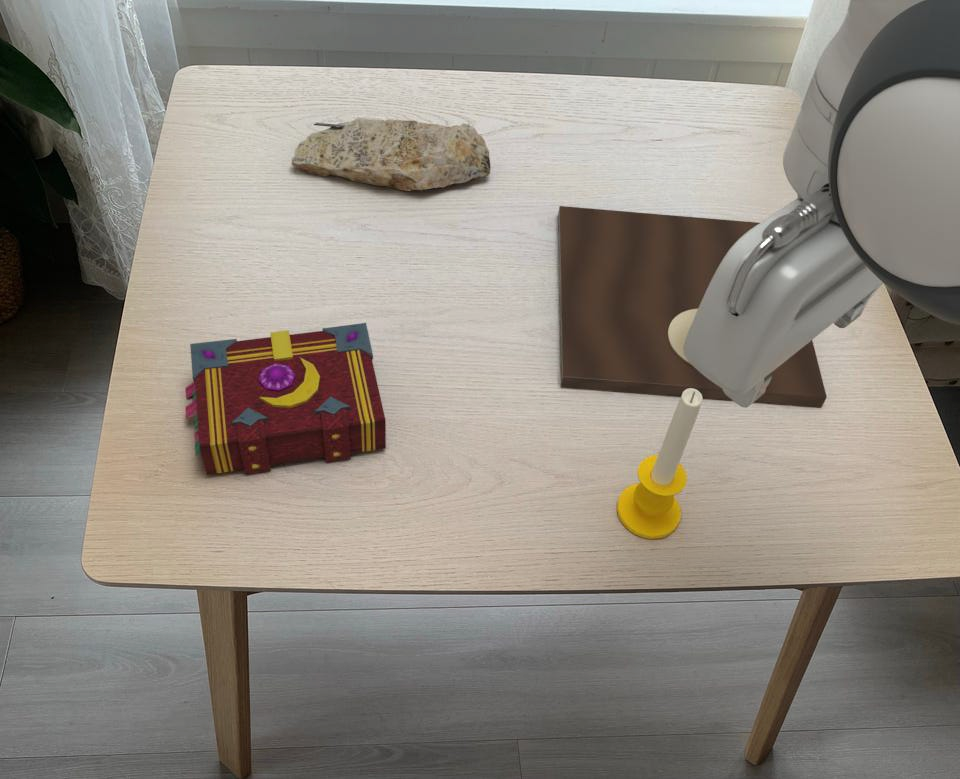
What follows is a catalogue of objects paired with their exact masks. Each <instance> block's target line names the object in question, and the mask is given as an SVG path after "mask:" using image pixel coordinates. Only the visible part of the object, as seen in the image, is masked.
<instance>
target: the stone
mask: <svg viewBox="0 0 960 779" xmlns="http://www.w3.org/2000/svg"><path fill="white" fill-rule="evenodd" d="M313 126H319V127H329V128H327V129H325V130H319V131H316V132H312V133H310V134H309V135H307V136H306V139H304V140H303V141H300V143H298V145H297V147H295V149H294V156H293V157H292V158H291V165H292V166H294V167H296V168H298V170H300V171H302V172H303V171H304V173H305V172H306V173H311V174H314V175H316V176H320V177H328V176H333V177H335V176H338V177H340V178H344V179H348V180H351V181H352V182H356V183H365V184H369V185H373V186H381V187H382V186H385V187H389V188H393V189H398V190H400V191H406V192H411V191H414V190H415V191H416V190H418V191H422V190H430V189H431V190H432V189H434V188H435V189H437V188H445V187H446V186H451V185H453V184H463V183H467V182H469V181H471V180H472V179H477V178H483V177H487V176H489V175H490V174H491V169H492V168H491V159H490V151H489V148H488V147H487V144H486V140H485V138H484V137H483V136H482V135H481V134H479V133H478V131H477V130H476V128H475V127H474V126H472V125H471V124H467V123H464V122H463V123H461V124H460V125H459V124H455V125H451V126H446V125H443V124H439V123H435V124H434V123H427V122H419V121H417V120H404V119H403V120H402V119H401V120H400V119H393V118H392V119H385V120H384V119H375V118H374V119H373V118H372V119H369V118H363V117H357V118H355V119H354V120H351V121H345V122H339V123H337V124H336V123H333V124H332V123H325V122H323V123H321V122H315V123H313Z"/></svg>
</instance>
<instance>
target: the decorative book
mask: <svg viewBox="0 0 960 779" xmlns="http://www.w3.org/2000/svg"><path fill="white" fill-rule="evenodd" d="M367 325H368V324H367V322H361V323H360V322H359V323H353V324H348V325H347V324H345V325H339V326H331V327H323V328H322V330H319V331H311V332H302V333H294V334H290V330H289V329H285V330H279V331H270V333H269V334H270V336H268V337H260V338H252V339H245V340H244V339H242V340H237V338H231V339H230V338H229V339H222V340H213V341H204V342H195V343H190V344H189V345H190V346H189V347H190V359H191V372H192V373H191V375H192V381H193V382H192V383H191V384H189V385H187V386H186V387H185V400H188V399H189V398H191V397H192V402H190V403H188V404H187V405H185V407H184V408H185V419H186V420H187V419H189V418H190V417H191V416H193V415H194V414H195V413H196V414H197V415H196V416H195V417H194V420H193V421H194V451H195V457H197V456H198V454H199V453H200V454H201V458H202V462H203V467H204V471H205V474H206V476H209V475H216V474H217V475H218V474H223V473H230V472H236V471H244V474H245V475H250V474H258V473H264V472H269V471H270V472H271V471H272V469H271V466H276V465H284V464H291V463H297V462H298V463H299V462H304V461H312V460H317V459H324V458H325V459H324V460H325V463H330V462H338V461H343V460H351V459H352V457H351V455H352V454H359V453H364V452H366V453H367V452H373V451H378V450H384V449H385V450H386V449H387V444H386V443H387V442H386V441H387V440H386V439H387V437H386V436H387V435H386V434H387V433H386V429H387V428H386V427H387V424H386V422H387V421H386V417H385V412H384V407H383V402H382V398H381V394H380V389H379V385H378V380H377V376H376V371H375V367H374V362H373V360H374V354H373V349H372V343H371V339H370V334H369V330H368V326H367Z"/></svg>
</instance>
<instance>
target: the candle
mask: <svg viewBox="0 0 960 779" xmlns="http://www.w3.org/2000/svg"><path fill="white" fill-rule="evenodd" d="M702 403H703V398H702V395H701V393H700V392H699V391H698V390H696V389H693V388H689V389H686V390H685V391H684V392H683V393H682V396H681V397H680V398H679V400H678V402H677V405H676V407H675V409H674V412H673V415H672V418H671V420H670V423H669V426H668V428H667V431H666V433H665V436H664V439H663V441H662V444H661V447H660V450H659V452H658V454H653V455H649V456H646V457H645V458H643V459H642V461H641V462H640V463H639V465H638V467H637V478H638V481H639V482H637V483H633V484H631V485H629V486H628V487H626V488H624V489H623V491H622V492H621V493H620V495H619V497H618V500H617V504H616V506H617V507H616V512H617V516H618V518H619V520H620V522H621V524H622V525H623V526H624V527H625V528H626V529H627V530H628V531H629V532H631V533H632V534H634V535H635V536H638V537H640V538H643V539H644V538H645V539H649V540H656V539H662V538H665V537H668V536H670V535H671V534H673V533H674V532H675V531H676V529H677V527H678V526H679V524H680V521H681V518H682V515H681V514H682V511H681V507H680V503H679V502H678V500H677V498H676V497H675V496H676V495H678V494H679V493H681V492H682V491H683V490H684V489H685V488H686V485H687V482H688V475H687V472H686V470H685V468H684V467H683V465H682V464H681V463H680V462H681V459H682V456H683V455H684V451H685V450H686V447H687V444H688V442H689V439H690V436H691V433H692V431H693V428H694V425H695V423H696V420H697V418H698V415H699V412H700V409H701V407H702Z"/></svg>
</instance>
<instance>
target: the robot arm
mask: <svg viewBox="0 0 960 779" xmlns="http://www.w3.org/2000/svg"><path fill="white" fill-rule="evenodd" d="M789 135H790V136H789V138H788V139H787V142H786V145H785V148H784V151H783V155H782V166H783V167H782V168H783V171H784V174H785V177H786V179H787V181H788V183H789V184H790V186H791V188H792V189H793V190H794V191H795V193H796V194H797V197H796V198H795V199H794V200H792V201H791V202H789V203H788V204H786V205H785V206H784V207H781V208H780V209H778V210H777V211H776V212H774V213H773V214H771V215H770V216H768V217H767V218H765V219H764V220H762V221H761V222H758V223H759V224H758V225H756V226H755V227H753V228H752V229H750V230H749V231H748V232H747V233H745V234H744V235H743V236H742V237H741V238H740V239H739V240H738V241H737V242H736V243H735V244H734V245H733V246H732V247H731V248H730V250H729V251H728V252H727V254H726V255H725V257H724V258H723V260H722V261H721V263H720V265H719V267H718V268H717V270H716V272H715V274H714V276H713V278H712V280H711V282H710V284H709V286H708V288H707V290H706V293H705V295H704V297H703V299H702V301H701V303H700V306H699V308H698V310H697V312H696V315H695V317H694V320H693V322H692V324H691V327H690V329H689V331H688V334H687V336H686V339H685V342H684V346H683V352H684V355H685V357H686V359H687V360H688V361H689V363H690V364H691V365H692V366H694V367H695V368H696V369H697V370H698V371H699V372H700V373H702V374H703V375H704V376H705V377H706V378H708V379H709V380H711V381H712V382H713V383H715V384H716V385H718V386H719V387H721V388H722V389H723V391H724V393H725V395H727V396H728V397H729V398H730V399H732V400H733V402H734V403H736V405H738V406H739V407H741V408H748V407H750V406H751V405H752V404H753V403H756V402H755V401H756V400H757V399H758V398H759V397H761V396H762V395H763V394H764V393H765V391H766V387H767V386H768V385H769V382H770V380H771V378H772V376H771V375H769V374H770V373H771V372H772V371H774V370H775V369H776V368H777V367H779V366H780V365H781V364H783V363H784V362H785V361H786V360H788V359H789V358H790V357H791V356H793V355H794V354H795V353H796V352H798V351H799V350H800V349H801V348H803V347H804V346H805V345H806V344H808V343H809V342H810V341H811V340H812V341H813V340H814V339H815V338H816V337H818V336H819V335H821V333H823V332H824V331H826V329H827V328H830V326H831V325H835V326H836V327H837V328H839V329H845V328H847V327H848V326H849V325H851V324H852V323H853V322H855V321H856V320H857V319H858V318H859V317H861V315H862V314H863V311H864V310H865V308H866V306H867V304H868V302H869V301H870V299H871V298H872V297H873V296H874V295H875V293H876V292H877V291H878V290H879V289H880V288H881V286H882V285H883V284H884V285H885V286H887V288H889V289H890V290H892V292H895V293H896V294H897V295H898V296H900V297H901V298H903V299H904V300H905V301H906V302H908V303H910V304H911V305H913V306H914V307H916V308H918V309H920V310H922V311H924V312H925V313H927V314H929V315H931V316H933V317H935V318H937V319H939V320H942V321H944V322H947V323H950V324H953V325H957V326H960V0H849V2H848V7H847V11H846V14H845V16H844V20H843V21H842V23H841V25H840V27H839V29H838V30H837V32H836V33H835V35H834V36H833V37H832V38H831V40H829V42H828V44H827V45H826V46H825V48H824V49H823V51H822V52H821V55H820V57H819V59H818V62H817V64H816V67H815V69H814V72H813V74H812V77H811V79H810V81H809V84H808V87H807V89H806V92H805V95H804V98H803V100H802V103H801V106H800V109H799V111H798V114H797V116H796V119H795V122H794V124H793V127H792V130H791V132H790V134H789Z"/></svg>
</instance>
